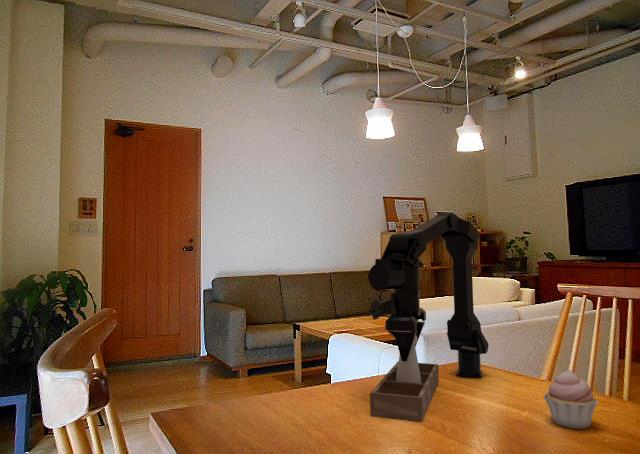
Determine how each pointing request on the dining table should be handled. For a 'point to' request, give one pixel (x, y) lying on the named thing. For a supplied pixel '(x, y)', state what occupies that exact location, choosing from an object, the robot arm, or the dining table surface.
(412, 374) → the salt shaker
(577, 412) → the cupcake
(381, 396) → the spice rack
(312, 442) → the dining table surface
